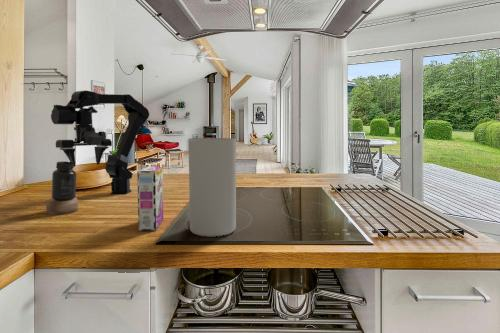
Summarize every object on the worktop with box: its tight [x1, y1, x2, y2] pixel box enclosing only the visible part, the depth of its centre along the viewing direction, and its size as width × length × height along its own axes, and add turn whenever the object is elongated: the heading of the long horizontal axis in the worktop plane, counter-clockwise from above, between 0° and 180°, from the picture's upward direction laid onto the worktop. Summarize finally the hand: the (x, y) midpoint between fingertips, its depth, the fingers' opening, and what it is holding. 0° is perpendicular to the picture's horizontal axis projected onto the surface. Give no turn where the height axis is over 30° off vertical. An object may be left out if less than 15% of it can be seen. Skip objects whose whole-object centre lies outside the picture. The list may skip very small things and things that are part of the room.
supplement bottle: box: [51, 161, 77, 201], centre depth 103 cm, size 7×7×12 cm
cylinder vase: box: [187, 137, 237, 238], centre depth 85 cm, size 12×12×25 cm
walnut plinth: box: [45, 197, 79, 216], centre depth 104 cm, size 9×9×4 cm
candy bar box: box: [136, 166, 164, 232], centre depth 89 cm, size 11×5×16 cm, turn 5°
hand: (86, 165), depth 121 cm, fingers open, 9 cm apart
